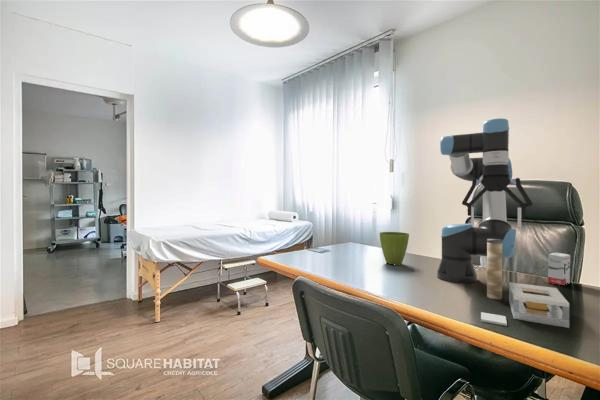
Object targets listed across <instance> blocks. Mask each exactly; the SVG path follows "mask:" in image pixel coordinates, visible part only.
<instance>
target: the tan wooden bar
mask: <svg viewBox="0 0 600 400" xmlns="http://www.w3.org/2000/svg"><path fill="white" fill-rule="evenodd" d="M486 257H487V271H486V297H487V298H489V299H491V300H492V299H493V300H502V299H503V258H502V240H500V239H487V256H486Z"/></svg>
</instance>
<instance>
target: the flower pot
mask: <svg viewBox="0 0 600 400" xmlns="http://www.w3.org/2000/svg"><path fill="white" fill-rule="evenodd" d="M378 234H379V241H380V245H381V250H382V254H383V257H384V260H385V263H386V264H387V263H389V264H395V265H394V266H400V265H399V264H401V265H402V264H403V261H404V258H405V256H406V252H407V248H408V245H409V244H408V243H409V239H410V238H409V237H410V233H407V232H401V231H380V232H379V233H378ZM389 264H388V265H389Z"/></svg>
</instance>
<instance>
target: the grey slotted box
mask: <svg viewBox="0 0 600 400" xmlns="http://www.w3.org/2000/svg"><path fill="white" fill-rule="evenodd" d="M508 284H509V285H508V288H509V289H508V293H509V294H508V299H509V300H508V301H509V306H510V307H509V308H510V309H511V310H510V311H511V313H512V318H513V319H514V320H520V321H526V322H532V323H539V324H542V325H550V326H556V327H561V328H567V329H570V302H569V301H568V300H567V299H566V298H565V297H564V295H563V294H562V293H561V292H560V291H559V289H558V288H557V287H553V286H543V285H534V284H527V283H526V284H525V283H518V282H510V281H509V283H508ZM528 292H529V293H528ZM530 292H532V293H530ZM533 293H535V294H533ZM536 293H537V294H536ZM538 293H540V294H538ZM543 294H546V295H543ZM525 301H529V302H536V303H543V304H547V310H541V309H534V308H528V307H527V306H526V303H525Z"/></svg>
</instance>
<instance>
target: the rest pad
mask: <svg viewBox="0 0 600 400" xmlns="http://www.w3.org/2000/svg"><path fill="white" fill-rule="evenodd" d="M480 322H483V323H489V324H493V325H500V326H505V327H508V322H507V317H506V316H505V315H501V314H495V313H488V312H483V311H480Z"/></svg>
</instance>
